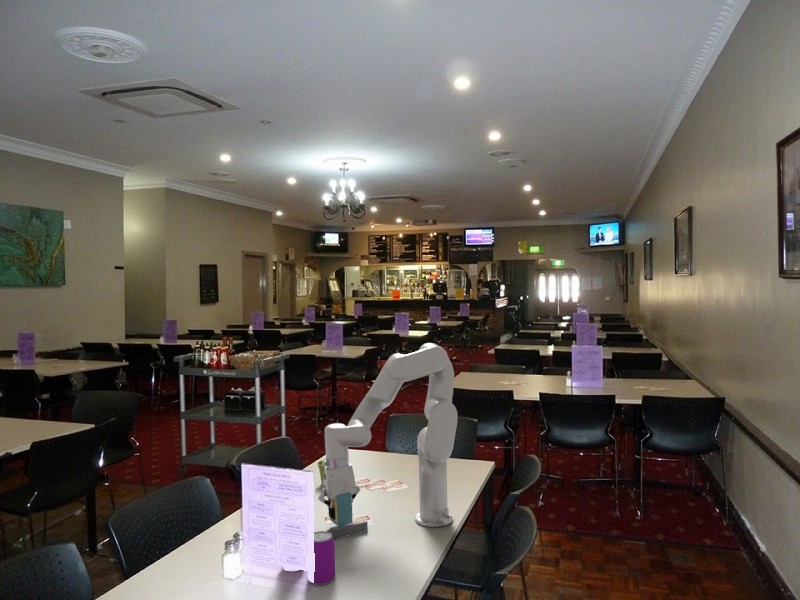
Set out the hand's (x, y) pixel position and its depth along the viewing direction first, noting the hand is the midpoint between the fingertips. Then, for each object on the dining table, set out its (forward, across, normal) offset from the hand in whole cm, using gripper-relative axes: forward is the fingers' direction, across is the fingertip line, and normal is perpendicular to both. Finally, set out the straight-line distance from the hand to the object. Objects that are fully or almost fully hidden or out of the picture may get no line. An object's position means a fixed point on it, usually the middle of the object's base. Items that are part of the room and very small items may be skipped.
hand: (340, 515), depth 191 cm
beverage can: (+4, -19, -29) cm, 35 cm away
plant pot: (+4, +14, +43) cm, 46 cm away
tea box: (+2, 0, 0) cm, 2 cm away
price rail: (+4, -1, -5) cm, 7 cm away
